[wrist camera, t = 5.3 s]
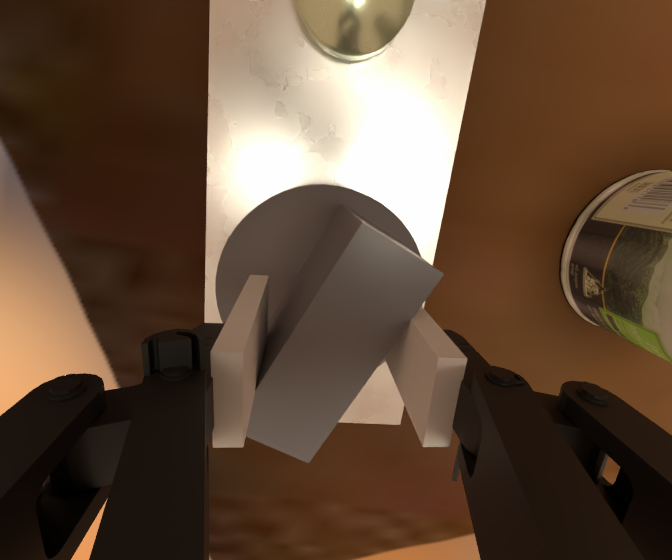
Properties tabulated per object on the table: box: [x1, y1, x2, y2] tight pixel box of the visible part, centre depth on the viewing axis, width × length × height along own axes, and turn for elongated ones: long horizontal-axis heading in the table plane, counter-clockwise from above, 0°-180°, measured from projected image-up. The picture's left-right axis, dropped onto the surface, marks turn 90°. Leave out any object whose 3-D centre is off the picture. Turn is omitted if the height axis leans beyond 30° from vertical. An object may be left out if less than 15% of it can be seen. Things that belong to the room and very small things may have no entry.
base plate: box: [204, 0, 486, 425], centre depth 18 cm, size 28×12×3 cm, turn 173°
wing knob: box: [215, 184, 444, 463], centre depth 15 cm, size 10×10×8 cm
